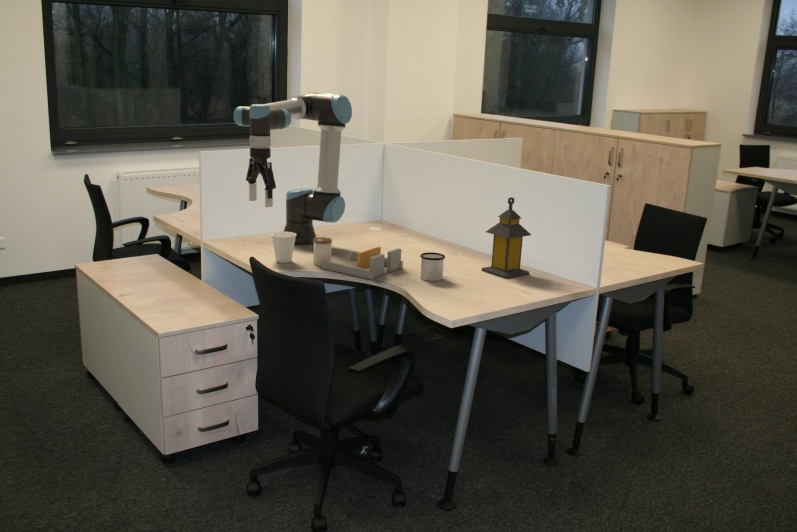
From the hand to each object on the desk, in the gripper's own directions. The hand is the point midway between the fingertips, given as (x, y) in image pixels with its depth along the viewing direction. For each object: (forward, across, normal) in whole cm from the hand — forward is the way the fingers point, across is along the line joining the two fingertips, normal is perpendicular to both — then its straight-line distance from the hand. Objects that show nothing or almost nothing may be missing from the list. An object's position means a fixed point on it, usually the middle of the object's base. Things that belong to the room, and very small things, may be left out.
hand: (260, 203), depth 282 cm
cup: (+25, -4, +12) cm, 28 cm away
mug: (+25, +43, +50) cm, 71 cm away
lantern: (+25, +50, +81) cm, 99 cm away
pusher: (+24, +26, +36) cm, 51 cm away
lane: (+25, +20, +34) cm, 46 cm away
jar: (+25, +6, +23) cm, 35 cm away
